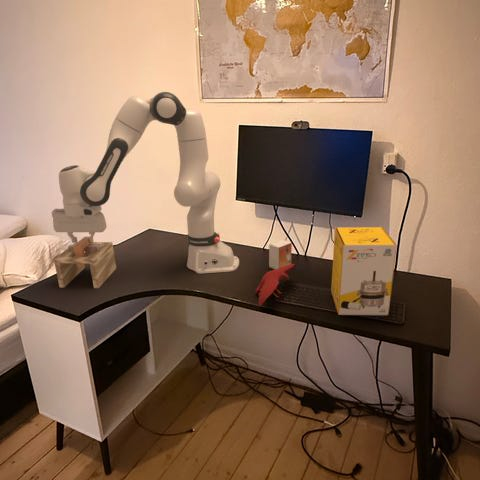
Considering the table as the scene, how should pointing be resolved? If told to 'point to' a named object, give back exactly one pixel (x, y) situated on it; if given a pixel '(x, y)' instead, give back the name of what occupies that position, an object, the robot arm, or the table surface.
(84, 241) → the arch block
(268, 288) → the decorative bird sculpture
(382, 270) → the packaging box
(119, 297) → the table surface
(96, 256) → the wooden stand
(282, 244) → the small box
